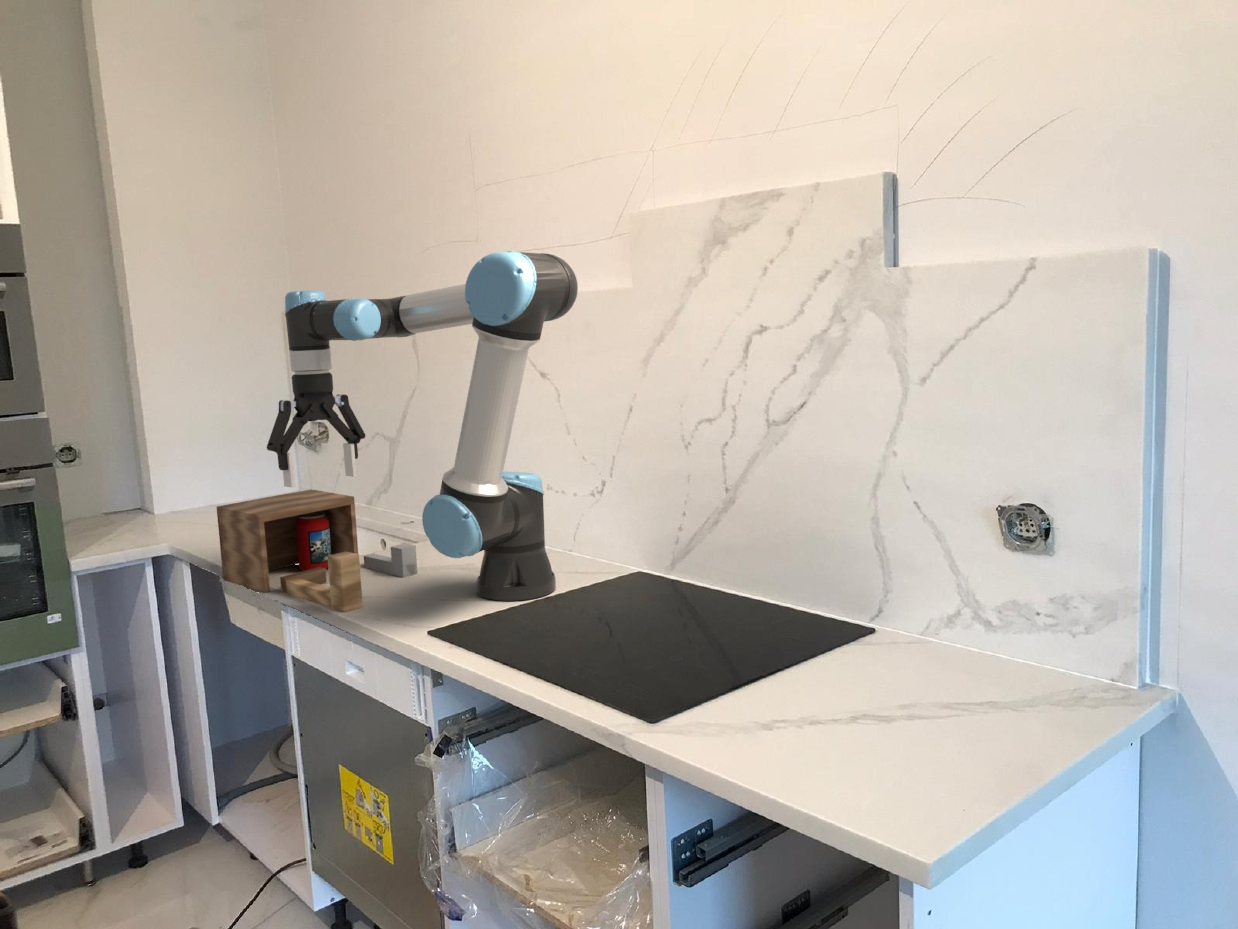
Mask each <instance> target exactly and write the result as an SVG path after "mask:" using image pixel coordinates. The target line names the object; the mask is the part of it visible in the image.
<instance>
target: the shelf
mask: <svg viewBox="0 0 1238 929" xmlns="http://www.w3.org/2000/svg"><path fill="white" fill-rule="evenodd" d="M355 502H356V500H355V496H352V495H347V494H342V493H341V494H340V493H334V492H329V491H323V490H316V489H311V488H310V489H305V490H300V491H294V492H288V493H284V494H283V493H282V494H277V495H273V496H272V495H271V496H267V497H261V498H257V499H256V498H255V499H251V500H245V501H239V502H234V503H228V504H223V505H218V506H216V516H217V527H218V535H219V536H218V537H219V547H220V548H219V549H220V558H221V567H222V568H221V570H222V577H223V578H222V579H223V581H225V582H229V583H232V584H236V585H238V586H242V587H245V588H248V589H251V590H255V591H259V592H262V593H265V594H266V593H270V592H271V589H270V588H271V587H270V586H271V585H270V576H269V575H270V574H269V571H272V570H273V571H274V570H277V569H281V568H285V567H289V566H294V565H297V564H298V565H299V560H298V549H297V537H296V521H297V519H298V515H301V514H306V513H311V512H323V513H325V516H326V517H327V519H328V521H329V530H330V543H331V555H333V554H337V553H341V552H345V551H347V552H351V553H355V554H359V546H358V544H359V543H358V532H357V518H356V516H357V515H356V505H355Z"/></svg>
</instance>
